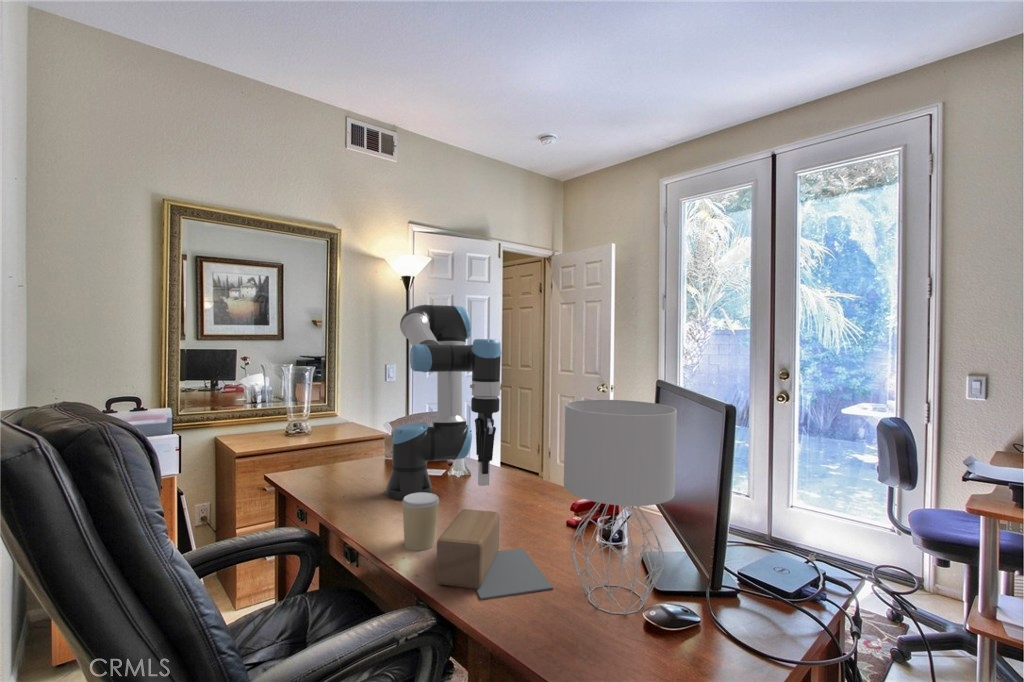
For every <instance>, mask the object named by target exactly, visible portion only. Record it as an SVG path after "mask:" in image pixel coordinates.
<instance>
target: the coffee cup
mask: <svg viewBox="0 0 1024 682" xmlns="http://www.w3.org/2000/svg"><path fill="white" fill-rule="evenodd" d="M401 501H402V502H401V504H402V515H403V517H402V518H403V519H402V520H403V538H404V547H405V548H406V549H408V550H411V551H426V550H429V549H431V548H433V547H434V546H435V544H436V538H437V526H438V514H439V503H440V498H439V496H438V495H437V494H435V493H433V492H432V493H425V492H420V493H412V494H409V495H407V496H405V497H404V499H403V500H401Z"/></svg>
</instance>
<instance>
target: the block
mask: <svg viewBox="0 0 1024 682" xmlns="http://www.w3.org/2000/svg"><path fill="white" fill-rule="evenodd" d="M499 549H500V513H499V512H498V511H492V510H491V511H489V510H482V509H481V510H480V509H479V510H478V509H467V508H466V509H465V508H464V509H461V510H460V512H459V513H458V514H457V515H456V516H455V518H454V519H453V521H452V522H450V524H449V525H448V526H447V527H446V529H445V530H444V531H443V533H442V534H440V536H439V537H438V538H437V541H436V568H435V570H436V572H435V573H436V575H435V576H436V577H435V578H436V579H435V580H436V584H438V585H441V586H443V585H444V586H451V587H460V588H467V589H468V588H469V589H475V590H476V588H479V587H480V586H481V584H482V582H483V580H484V578H485V576H486V574H487V572H488V570H489V568H490V566H491V564H492V562H493V560H494V558H495V556H496V553H497V551H499Z"/></svg>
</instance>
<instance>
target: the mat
mask: <svg viewBox="0 0 1024 682" xmlns="http://www.w3.org/2000/svg"><path fill="white" fill-rule="evenodd" d="M550 590H554V587H553V585H552V584H551V583H550V581H549V580H548V579H547V578H546V576H545V575H544V573H543V572H542V571H541V569H540V568H539V567H538V565H537V564H536V563H535V562H534V560H532V558H531V557H530V556H529V554H528V553H527V552H526V550H525V549H524V548H523V547H522V548H515V549H506V550H498V551H497V553H496V556H495V558H494V560H493V562H492V564H491V566H490V568H489V570H488V572H487V574H486V576H485V578H484V580H483V582H482V584H481V586H480V587H479V588H476V589H475V591H476V593H477V595H478V597H479V599H480V601H483V600H490V599H496V598H503V597H511V596H516V595H517V596H518V595H524V594H525V595H526V594H529V593H530V594H531V593H536V592H537V593H539V592H544V591H550Z"/></svg>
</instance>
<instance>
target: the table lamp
mask: <svg viewBox="0 0 1024 682" xmlns="http://www.w3.org/2000/svg"><path fill="white" fill-rule="evenodd" d="M564 409H565V410H564V411H565V414H564V445H563V446H564V453H563V455H564V458H563V487H564V489H565V490H566V491H568V493H570V494H572V495H573V496H576V497H578V498H581V499H583V500H587V501H590V502H594V503H595V504H594V506H592V508H591V509H590V510H589V512H588V513H587V514H586V515H585V516H584V517H583V519H582V520H580V522H579V524H578V526H577V527H576V530H575V532H574V535H573V536H572V539H571V546H570V550H571V553H572V554H571V557H570V558H571V562H572V564H573V567H574V569H575V572H576V574H577V577H578V578H579V581H580V584H581V587H582V588H583V590H584V592H585V594H586V597H587V599H588V602H590V604H592V606H594V607H595V608H596V609H598V610H601V611H603V612H605V613H608V614H614V615H624V616H626V615H630V614H634V613H637V612H638V613H639V611H640V610H641V609H642V607H643V606H644V605H645V603H646V601H647V600H648V599H649V597H650V595H651V593H652V591H653V590H654V588H655V586H656V584H657V582H658V580H659V578H660V576H661V574H662V572H663V570H664V568H665V567H666V561H665V555H664V550H663V548H662V545H661V543H660V541H659V538H658V535H657V534H656V532H655V531H656V530H655V529H654V527H653V526H652V524H651V523H650V521H649V520H648V518H647V517H646V515H645V514H644V512H643V511H642V510H641V508H640V507H644V506H645V507H646V506H655V505H659V504H664V503H667V502H669V501H671V500H672V499H673V498H674V497H675V495H676V493H675V492H676V457H677V456H676V453H677V416H678V415H677V414H678V413H677V411H678V410H677V409H676V408H675V407H672V406H669V405H665V404H661V403H656V402H655V403H654V402H648V401H647V402H645V401H637V400H636V401H635V400H624V399H585V400H584V399H581V400H573V401H568V402H567V403H565V405H564ZM601 504H604V505H605V506H604V508H603V511H602V513H601V514H600V517H599V519H598V522H597V523H596V522H595V521H594V520H593V519H592V517H593V516H594V514H596V511H597V509H598V508H599V507H600V505H601ZM610 505H611V506H612V505H613V511H612V513H613V514H612V521H611V522H610V523H608V524H606V525H604V521H605V517H606V515H607V511H608V508H609V507H610ZM616 506H620V509H621V517H619V518H616V519H615V513H616V512H615V511H616ZM626 507H631V509H632V511H633V513H634V515H635V517H636V519H637V521H638V524H639V526H640V527H641V530H639V528H638V527H636V525H634V524H633V523H631V522H630V521H629V520H628V516H627V511H626ZM635 507H636V508H637V509H638V512H639V513H640V514H641V516H642V517H643V519H644V520H645V522H646V524H647V526H649V528H650V529H648V530H647V531H645V530H644V527H643V526H642V520H641V518H640V517H639V515H638V512H637V511H636V509H635ZM589 514H590V515H589ZM587 517H588V518H587ZM586 518H587V519H586ZM602 518H603V519H602ZM585 519H586V520H585ZM601 519H602V523H601V525H600V522H601ZM614 519H615V520H614ZM621 519H622V521H621V522H622V546H621V551H620V550H618V549H617V548H616V547H615V546H614V545H613V544H612V538H613V530H614V523H616V522H618V521H619V520H621ZM624 520H625V522H626V526H627V530H628V531H627V532H628V536H629V541H630V546H631V551H630V552H629V553H627V554H625V555H624V543H625V541H624V539H625V534H624V533H625V527H624V526H625V523H624ZM589 521H591V522H592V523H593V524H595V525H596V526H595V529H594V532H593V534H592V535H591V538H590V541H589V543H588V544H589V545H588V548H587V550H586V547H585V543H584V535H585V531H586V528H587V526H588V523H589ZM583 522H584V523H583ZM582 523H583V524H582ZM581 524H582V525H581ZM609 525H611V530H610V531H611V532H610V538H609V539H610V541H609V543H608V542H607V541H606V540H605V539H604V538H603V536H602V535H603V529H604V528H605V527H608V526H609ZM630 525H631V526H632V527H633V528H634V529H636V530H637V531H638V532H639V533H640V534H642V538H643V544H642V545H640V546H639V547H637V548H636V549H634V547H633V541H632V536H631V529H630ZM580 526H581V527H580ZM598 527H599V528H600V537H599V539H598V540H597V542H596V543H595V545H594V547H593V548H592V549H591V552H590V548H591V544H592V542H593V541H592V540H593V537H594V536H595V534H596V531H597V529H598ZM650 531H652V533H653V534H654V537H655V541H656V542H657V546H658V547H657V546H656V545H654V544H653V543H651V542H650V540H649V537H648V536H647V533H649V532H650ZM576 537H577V538H576ZM580 537H581V538H580ZM575 538H576V540H575V543H574V539H575ZM579 538H580V539H581V542H582V547H583V550H584V554H585V555H582V554H581V553H580V552H579V551H577V550H576V549H575V547H576V545H577V542H578V540H579ZM645 539H646V540H647V541H646V540H645ZM599 542H600V545H601V548H599V549H598V550H595V548H596V547H597V546H598V544H599ZM603 542H605V544H607V545H605V546H603ZM646 542H647V544H646ZM648 546H649V549H650V552H651V556H652V559H653V562H654V563H653V564H654V565H653V568H652V564H651V560H650V558H649V554H648V551H647V548H648ZM608 547H609V550H608V562H607V573H606V566H605V558H604V549H606V548H608ZM652 547H653V548H654V549H655V550H657V551H658V556H657V559H656V560H655V556H654V553H653V550H652ZM641 548H642V549H641ZM639 549H641V554H640V555H639V556H638V559H637V560H636V559H635V554H634V553H635V551H637V550H639ZM594 550H595V551H594ZM611 550H612V551H614V553H616V554H617V555H618V556H619V557H620V559H619V561H618V563H617V564H616V566H615V568H614V569H613V571H612V573H611V574H610V563H611V562H610V561H611V560H610V559H611ZM589 552H590V554H589ZM598 552H601V555H602V565H603V573H604V579H603V578H602V576H601V575H600V574H599V572H598V571H597V570H596V569H595V567H594V566H593V564H592V563H591V562H590V560H589V558H590V557H591V556H593V555H594V554H596V553H598ZM644 552H645V553H646V557H647V559H648V560H647V561H648V564H649V567H650V570H651V571H650V572H649V573H648V574H647V575H646V576H645V577H644V578H643V579H642V580H641V581H639V580H638V579H637V575H638V573H639V569H640V567H641V566H640V565H641V562H642V558H643V554H644ZM575 553H577V554H578V555H580V557H582V558H583V559H585V562H584V569H583V570H582V571H581V569H580V566H579V563H578V560H577V558H576V556H575ZM630 554H632V560H633V562H632V561H630V559H628V558H627V556H628V555H630ZM661 554H662V559H663V564H662V565H661V566H659V567H657V566H656V565H657V564H658V560H659V559H660V557H661V556H660V555H661ZM624 559H625V560H626V561H627V562H629V563H630V565H632V566H633V573H634V574H633V575H634V576H633V577H634V578H632V579H630V576H629V574H628V571H627V568H626V564H625V560H624ZM635 560H636V561H635ZM638 562H639V563H638ZM619 564H620V570H619V571H620V572H619V584H610V581H611V578H612V576H613V575H614V573H615V571H616V569H617V568H618V566H619ZM637 564H638V565H637ZM636 566H637V570H636ZM622 567H624V570H625V574H626V576H627V578H628V581H626V582H625V583H623V584H621V581H622V580H621V579H622ZM591 568H592V569H593V570H594V571H595V573H596V574H597V576H598V577H599V579H600V580H601V581H602V583H603V584H602V583H600V581H599V580H598V579H597V578H596V577H594V576H593V574H592V570H591ZM657 570H659V572H658V573H657ZM584 572H585V576H586V579H587V584H586V582H585V579H584V576H583V573H584ZM654 572H655V574H654V576H653V573H654ZM606 575H607V576H606ZM609 575H610V576H609ZM589 576H590V577H591V581H592V583H593V588H592V586H591V583H590V580H589ZM652 577H653V578H652ZM647 578H648V579H647ZM646 579H647V581H646V584H643V582H644V581H645V580H646ZM594 580H595V581H596V583H598V584H599V585H597V586H596V585H595V582H594ZM631 582H632V583H631ZM636 582H637V584H636V585H635V583H636ZM627 584H629V585H630V588H629V587H626V585H627ZM639 585H641V586H642V587H643V588H644V589H643V591H642V593H641V594H639V593H638V592H636V591H635V589H637V587H638V586H639ZM606 587H607V588H606ZM610 587H615V588H613V589H611V590H610ZM596 588H602V589H604V590H605V591H606V592H607V593H606V595H605V596H604V597H603V598H602V600H600V602H599V603H598V604H597V601H596V598H595V594H594V592H593V591H594V590H596ZM620 588H623V589H625V590H629V591H630V595H629V599H628V603H627V606H626V608H625V609H626V610H624V609H623V608H622V606H621V605H620V603H619V602H618V600H616V598H615V597H614V596H613V594H612V592H614V591H616V590H618V589H620ZM645 590H646V591H645ZM633 593H635V594H636V595H637V596H639V598H638V600H636V602H635V603H634V604H633V605H631V607H630V608H629V606H630V603H631V599H632V595H633ZM607 597H608V603H609V610H605V609H603V608H600V605H601V604H602V603H603V602H604V601H605V599H606V598H607ZM611 597H612V599H613V600H614V602H615V603H616V604H617V605H618V607H619V608H620V609H621V611H622V612H614V611H613V612H612V606H611V605H612V603H611ZM591 600H592V601H591ZM640 601H641V602H640ZM639 602H640V604H639V606H638V609H637V610H634V611H631V610H632V609H634V607H635V606H636V605H637V604H638V603H639Z"/></svg>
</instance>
